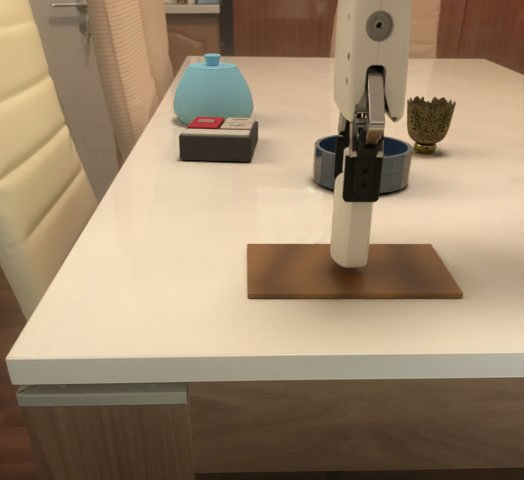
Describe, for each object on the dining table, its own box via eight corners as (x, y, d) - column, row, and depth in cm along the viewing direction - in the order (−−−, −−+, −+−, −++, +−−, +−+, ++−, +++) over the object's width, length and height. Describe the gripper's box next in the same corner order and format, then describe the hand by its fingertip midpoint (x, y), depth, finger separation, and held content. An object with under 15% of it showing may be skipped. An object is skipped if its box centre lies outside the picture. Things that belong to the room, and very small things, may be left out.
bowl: (397, 168, 96) (401, 133, 93) (417, 196, 85) (422, 158, 82) (309, 167, 96) (310, 133, 93) (317, 196, 84) (320, 158, 82)
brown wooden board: (430, 248, 70) (431, 243, 70) (462, 298, 60) (463, 293, 59) (247, 247, 69) (247, 243, 69) (247, 298, 59) (247, 293, 59)
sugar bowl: (255, 129, 116) (256, 59, 110) (172, 129, 115) (168, 59, 109) (251, 112, 129) (251, 48, 123) (176, 112, 128) (172, 48, 122)
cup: (446, 147, 107) (454, 96, 103) (449, 159, 101) (458, 105, 96) (400, 145, 108) (407, 94, 104) (401, 156, 102) (407, 103, 97)
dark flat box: (258, 116, 108) (251, 132, 95) (258, 142, 110) (250, 161, 97) (194, 114, 109) (177, 130, 96) (195, 140, 111) (179, 159, 98)
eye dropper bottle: (375, 250, 65) (389, 129, 59) (363, 272, 61) (376, 144, 55) (334, 244, 67) (342, 125, 60) (319, 265, 62) (326, 139, 56)
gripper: (451, -32, 43) (415, 222, 53) (399, -36, 58) (378, 164, 68) (341, -33, 43) (324, 222, 53) (316, -37, 58) (307, 164, 67)
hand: (354, 187), depth 60 cm, fingers closed on eye dropper bottle, 5 cm apart
